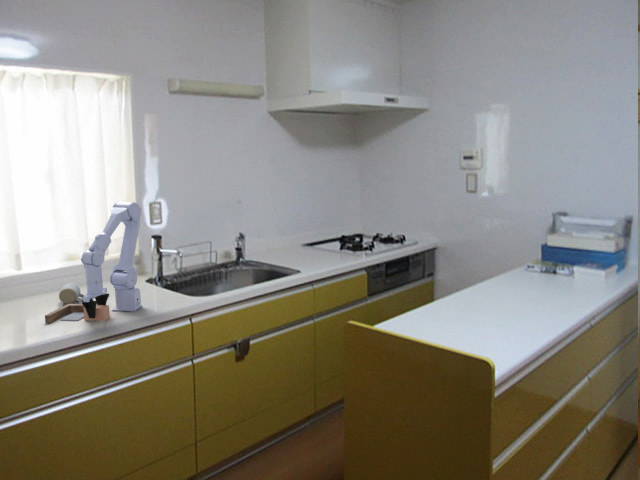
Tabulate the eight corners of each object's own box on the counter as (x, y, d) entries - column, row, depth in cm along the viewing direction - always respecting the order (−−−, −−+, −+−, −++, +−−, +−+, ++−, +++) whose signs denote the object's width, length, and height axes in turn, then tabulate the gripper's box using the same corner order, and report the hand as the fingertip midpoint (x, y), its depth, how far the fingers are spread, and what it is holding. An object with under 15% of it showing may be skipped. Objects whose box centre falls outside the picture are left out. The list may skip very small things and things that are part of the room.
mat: (90, 313, 222) (90, 312, 222) (77, 321, 212) (77, 319, 212) (74, 312, 223) (74, 311, 222) (60, 320, 213) (60, 319, 213)
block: (109, 317, 217) (108, 305, 216) (104, 321, 212) (103, 308, 211) (90, 316, 218) (89, 304, 217) (84, 320, 213) (83, 308, 212)
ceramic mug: (58, 305, 233) (57, 287, 232) (62, 300, 241) (61, 283, 240) (85, 304, 236) (84, 286, 235) (88, 299, 244) (87, 282, 243)
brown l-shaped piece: (96, 311, 224) (95, 304, 224) (75, 323, 208) (74, 316, 208) (68, 310, 225) (67, 303, 225) (45, 323, 210) (44, 315, 209)
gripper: (94, 285, 205) (97, 321, 207) (113, 276, 219) (115, 309, 221) (76, 285, 206) (79, 320, 208) (96, 276, 220) (98, 309, 222)
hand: (97, 315), depth 215 cm, fingers open, 7 cm apart
